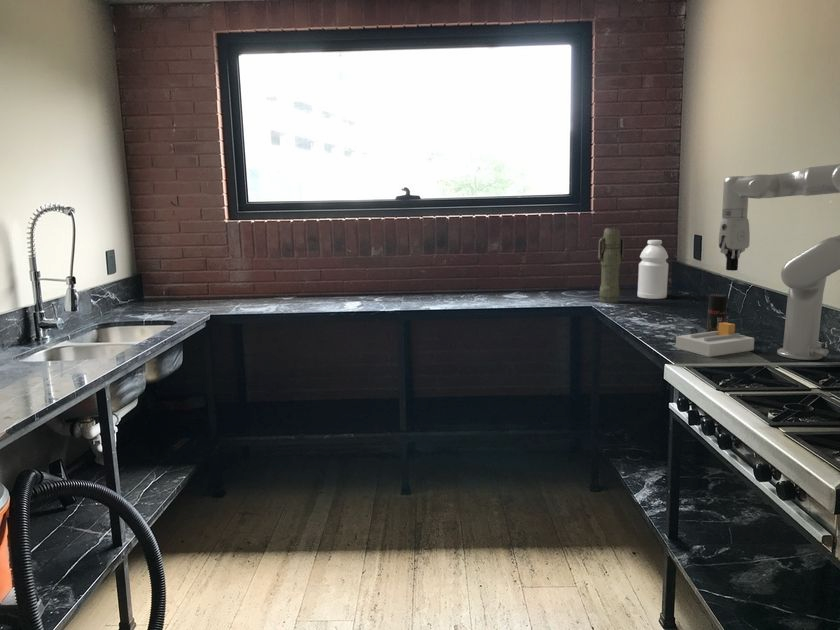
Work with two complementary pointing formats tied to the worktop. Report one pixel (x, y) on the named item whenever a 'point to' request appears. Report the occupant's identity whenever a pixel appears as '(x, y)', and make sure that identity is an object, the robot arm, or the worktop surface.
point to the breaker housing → (714, 343)
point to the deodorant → (716, 311)
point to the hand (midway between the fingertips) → (731, 270)
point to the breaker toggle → (726, 328)
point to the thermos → (610, 264)
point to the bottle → (653, 271)
